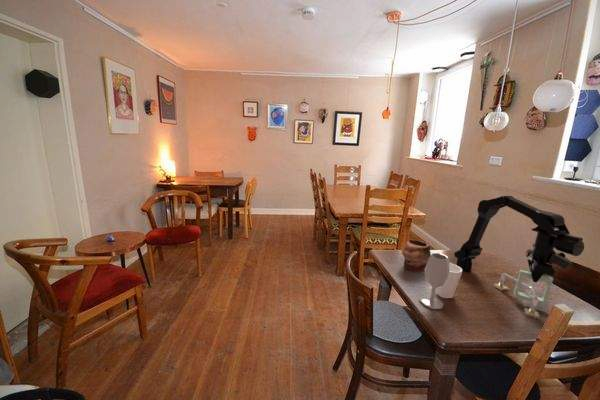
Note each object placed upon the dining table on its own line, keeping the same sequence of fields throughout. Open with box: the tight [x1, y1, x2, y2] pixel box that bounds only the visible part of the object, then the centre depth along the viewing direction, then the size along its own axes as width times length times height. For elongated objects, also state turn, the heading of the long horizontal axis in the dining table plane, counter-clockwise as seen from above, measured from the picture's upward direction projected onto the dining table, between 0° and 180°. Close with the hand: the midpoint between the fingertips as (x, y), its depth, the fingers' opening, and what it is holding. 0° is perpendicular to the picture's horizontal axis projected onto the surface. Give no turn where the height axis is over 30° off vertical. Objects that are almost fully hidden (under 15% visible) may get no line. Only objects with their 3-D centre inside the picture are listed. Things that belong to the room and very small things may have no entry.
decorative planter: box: [401, 239, 432, 273], centre depth 137 cm, size 20×12×14 cm, turn 126°
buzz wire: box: [492, 272, 540, 320], centre depth 112 cm, size 5×25×9 cm, turn 173°
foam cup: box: [435, 262, 463, 299], centre depth 113 cm, size 10×9×13 cm
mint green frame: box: [513, 269, 554, 306], centre depth 108 cm, size 10×3×12 cm, turn 57°
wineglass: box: [418, 252, 450, 310], centre depth 105 cm, size 9×9×21 cm
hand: (534, 280), depth 107 cm, fingers closed on mint green frame, 2 cm apart
